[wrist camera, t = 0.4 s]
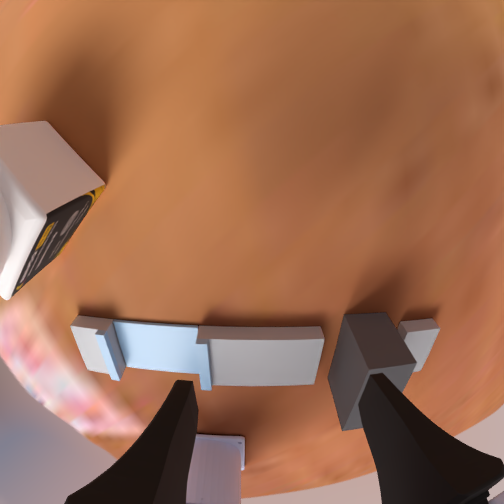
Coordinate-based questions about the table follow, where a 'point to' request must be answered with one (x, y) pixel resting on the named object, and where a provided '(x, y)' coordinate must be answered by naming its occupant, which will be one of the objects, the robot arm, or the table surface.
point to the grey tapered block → (366, 362)
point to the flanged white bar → (221, 350)
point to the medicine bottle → (39, 199)
